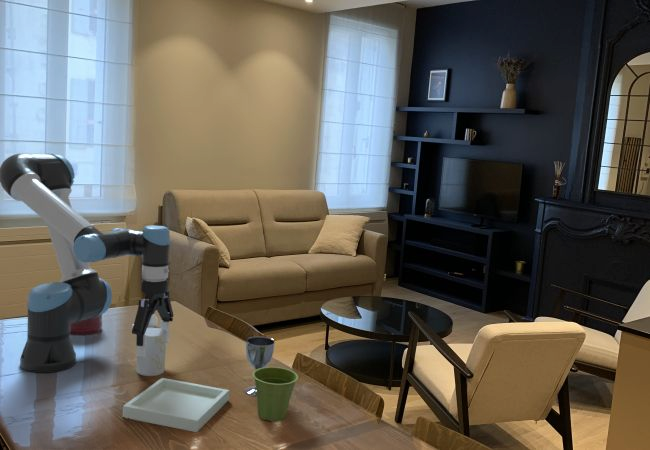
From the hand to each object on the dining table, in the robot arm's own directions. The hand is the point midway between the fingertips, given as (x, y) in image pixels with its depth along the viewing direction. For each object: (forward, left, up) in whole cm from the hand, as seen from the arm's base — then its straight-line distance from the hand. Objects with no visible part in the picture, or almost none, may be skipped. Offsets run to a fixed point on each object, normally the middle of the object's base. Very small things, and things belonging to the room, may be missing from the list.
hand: (152, 348), depth 186 cm
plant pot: (+43, -14, -7) cm, 45 cm away
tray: (+19, -20, -7) cm, 28 cm away
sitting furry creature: (-22, +36, -7) cm, 43 cm away
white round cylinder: (0, 0, -7) cm, 7 cm away
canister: (-39, +23, -7) cm, 46 cm away
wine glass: (+34, -1, -7) cm, 34 cm away
